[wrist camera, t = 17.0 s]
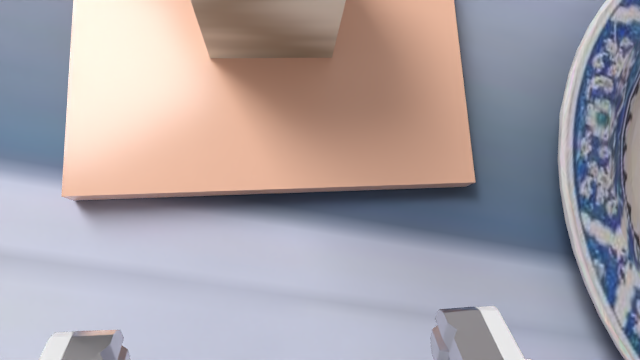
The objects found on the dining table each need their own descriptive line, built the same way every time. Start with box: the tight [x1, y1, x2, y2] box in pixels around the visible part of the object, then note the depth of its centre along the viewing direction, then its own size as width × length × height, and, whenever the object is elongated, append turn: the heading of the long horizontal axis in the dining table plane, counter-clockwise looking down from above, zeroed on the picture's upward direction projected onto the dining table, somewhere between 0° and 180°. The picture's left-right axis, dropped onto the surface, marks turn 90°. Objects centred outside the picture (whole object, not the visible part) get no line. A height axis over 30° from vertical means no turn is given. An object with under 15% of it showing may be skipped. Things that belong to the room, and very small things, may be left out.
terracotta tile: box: [62, 0, 475, 200], centre depth 19 cm, size 16×16×1 cm
